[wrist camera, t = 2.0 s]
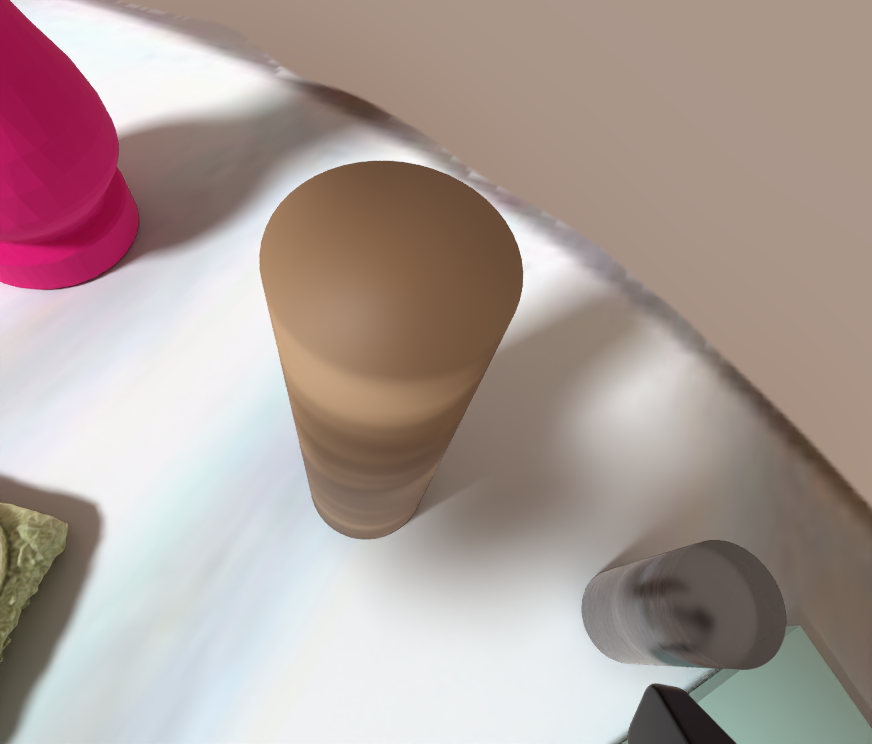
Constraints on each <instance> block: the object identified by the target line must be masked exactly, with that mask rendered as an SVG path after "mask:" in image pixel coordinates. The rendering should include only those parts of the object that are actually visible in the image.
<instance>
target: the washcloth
mask: <svg viewBox="0 0 872 744" xmlns="http://www.w3.org/2000/svg"><path fill="white" fill-rule="evenodd" d="M67 530H68V523H67V522H63V521H61V520H59V519H57V518H56V517H53V516H51V515H46V514H41V513H39V512H37V511H32V510H29V509H25V508H21V507H18V506H16V505H14V504H7V503H2V502H0V663H1V662H2V661H3V656H2V651H3V650H4V648H5V647H6V646H7V645H8V644H9V643H10V642H11V639H10V638H9V637H8V635H9V634H10V632H11V631H12V630H13V629H14V628H15V627H16V626H17V624H18V619H19V617H20V614H21V611H22V610H24V609H25V608H26V607H27V606H28V605H29V604H30V597H31V596H33V595H34V594H35V593H36V592H37V591H38V586H39V584H40V582H41V581H42V579H43V576H44V575H45V574H46V573H47V571H48V570H49V568H50V566H51V564H52V562H53V561H54V559H55V557H56V556H57V555H59V554H61V553H62V551H64V549H65V547H66V536H67Z"/></svg>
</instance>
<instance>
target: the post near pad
mask: <svg viewBox="0 0 872 744" xmlns="http://www.w3.org/2000/svg"><path fill="white" fill-rule="evenodd" d="M582 618H583V622H584V626H585V629H586V631H587V633H588V635H589V637H590V639H591V640H592V642H593V643H594V644H595V646H596V647H597V648H598V649H599V650H600V651H601V652H602V653H603V654H605V655H606V656H608V657H609V658H611V659H613V660H615V661H618V662H622V663H628V664H645V665H663V666H681V667H699V668H716V669H734V670H750V669H754V668H758V667H760V666H763V665H764V664H766V663H768V662H769V661H770V660H771V659H772V658H773V657H774V656H775V655H776V654H777V652H778V651H779V649H780V647H781V645H782V643H783V640H784V636H785V631H786V611H785V605H784V602H783V598H782V595H781V593H780V590H779V588H778V586H777V584H776V582H775V580H774V578H773V577H772V575H771V574H770V572H769V571H768V570H767V568H766V567H765V566H764V565H763V564H762V563H761V562H760V561H759V560H758V559H757V558H756V557H755V556H754V555H753V554H751V553H750V552H748V551H747V550H745V549H743V548H742V547H740V546H738V545H735V544H733V543H730V542H726V541H720V540H709V541H704V542H700V543H697V544H693V545H690V546H687V547H683V548H680V549H677V550H673V551H670V552H667V553H663V554H660V555H657V556H653V557H650V558H646V559H643V560H640V561H636V562H633V563H630V564H626V565H623V566H620V567H616V568H613V569H610V570H606V571H603V572H602V573H600V574H598V575H597V576H595V577H594V578H593V579H592V580H591V582H590V583H589V584H588V586H587V588H586V590H585V592H584V595H583V600H582Z"/></svg>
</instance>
